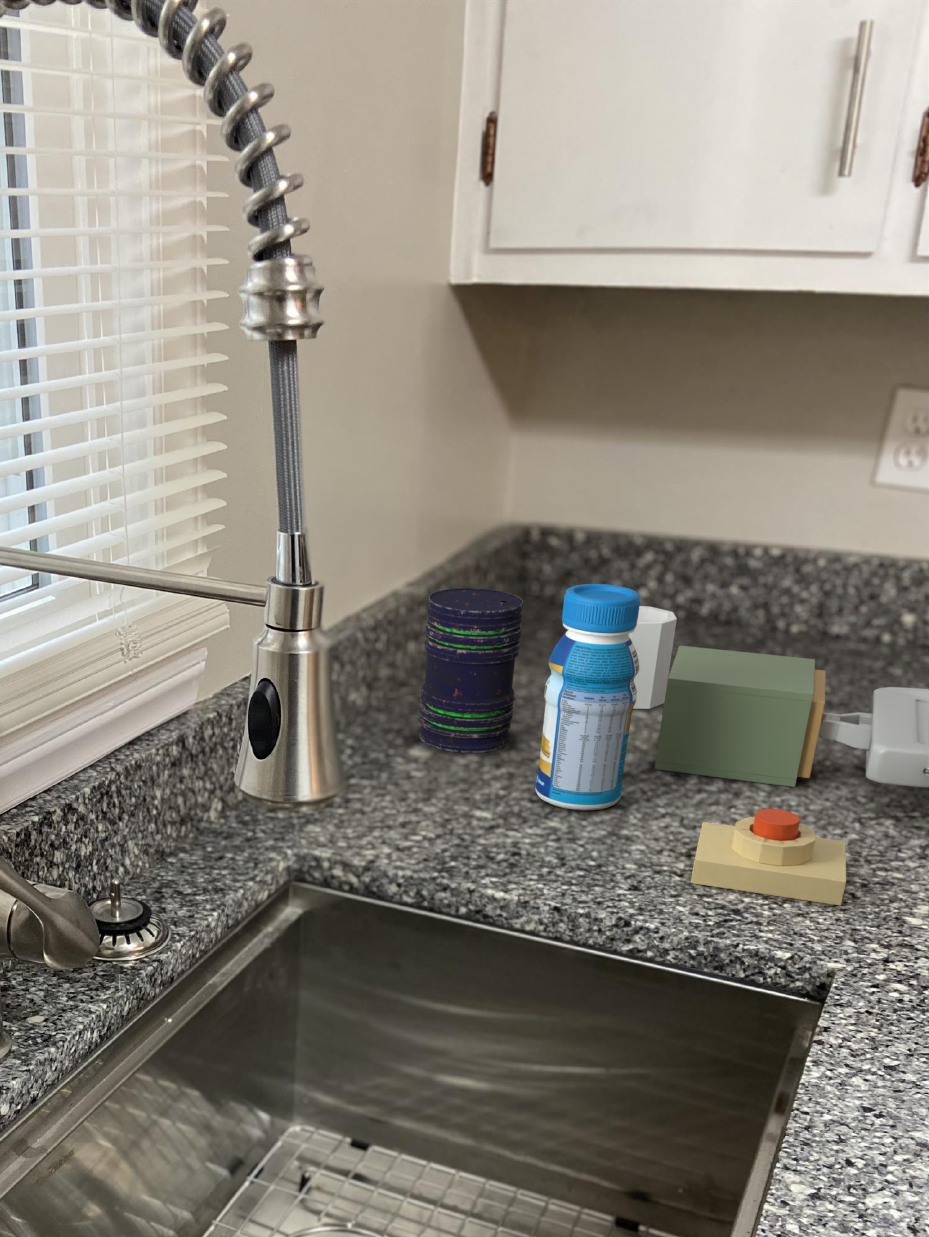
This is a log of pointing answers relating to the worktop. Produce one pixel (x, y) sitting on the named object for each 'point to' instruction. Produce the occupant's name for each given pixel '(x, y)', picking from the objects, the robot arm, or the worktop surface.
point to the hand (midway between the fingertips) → (819, 725)
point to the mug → (653, 654)
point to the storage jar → (469, 669)
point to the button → (776, 825)
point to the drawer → (813, 725)
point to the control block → (771, 863)
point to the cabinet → (736, 715)
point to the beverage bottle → (589, 699)
